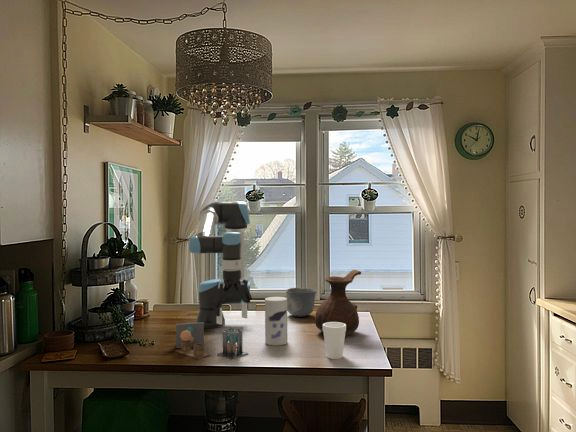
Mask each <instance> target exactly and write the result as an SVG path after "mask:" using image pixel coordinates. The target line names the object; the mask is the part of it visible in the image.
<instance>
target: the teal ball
mask: <svg viewBox="0 0 576 432" xmlns="http://www.w3.org/2000/svg"><path fill="white" fill-rule="evenodd" d="M231 333H236V332H235V331H234V332H232V331H231ZM229 342H230V343H231V336H230V334H228V343H229ZM233 344H237V334H233Z"/></svg>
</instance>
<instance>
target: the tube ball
mask: <svg viewBox="0 0 576 432" xmlns="http://www.w3.org/2000/svg"><path fill="white" fill-rule="evenodd" d="M236 350H237V343H235V344H233V353H234V352H235V351H236ZM227 352H228V353H231V343H230V342H229V341H228V343H227Z"/></svg>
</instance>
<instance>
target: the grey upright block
mask: <svg viewBox="0 0 576 432" xmlns="http://www.w3.org/2000/svg"><path fill="white" fill-rule="evenodd" d="M185 330H188V331H190V332H191V339H190V340H191V348H194V344H198V343H201V344H204V345H205V328H204V322H202V323H196V322H188V323H186V322H185V323H175V348H177V349H179V348H180V349H181V341H182V339H181V337H180V335H181V333H182V332H183V331H185Z"/></svg>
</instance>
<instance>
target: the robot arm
mask: <svg viewBox="0 0 576 432" xmlns="http://www.w3.org/2000/svg"><path fill="white" fill-rule="evenodd" d="M198 221H199V224H198V226H197V227H198V228H197V230H196V235H191V236H190V237H189V239H188V240H189V241H188V249H189V250H188V251H189V252H190V253H191V254H198V255H200V254H222V269H223V270H222V279H220V278H217V279H216V278H215V279H209V280H205V281H202V282H200V283H199V286H198V312H197V313H198V314H197V316H196V319H195V323H202V322H204V329H215V328H221V327H224V326H225V325H226V319H225V317H224V313H223V308H222V306H224V305H229V306H230V305H239V306H240V305H241V318H242V319H248V311H249V303H251V301H252V300H253V298H252V295H251V281H248V280H249V279H248V277H247V276H246V273H245V269H246V267H245V266H246V265H245V262H246V261H245V258H246V257H245V231H246V230H247V229H248V225H250V224H251V220H250V213H249V207H248V203H247V202H245V201H238V200H237V201H236V200H235V201H234V200H232V201H213V202H212V203H209V204H207V205H206V206H204V207H203V208H202V209H201V211H200V212H199V214H198ZM216 225H224V229H225V230H226V232H223V233H222V235H214V233H215V228H216ZM222 280H223V282H222Z"/></svg>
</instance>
